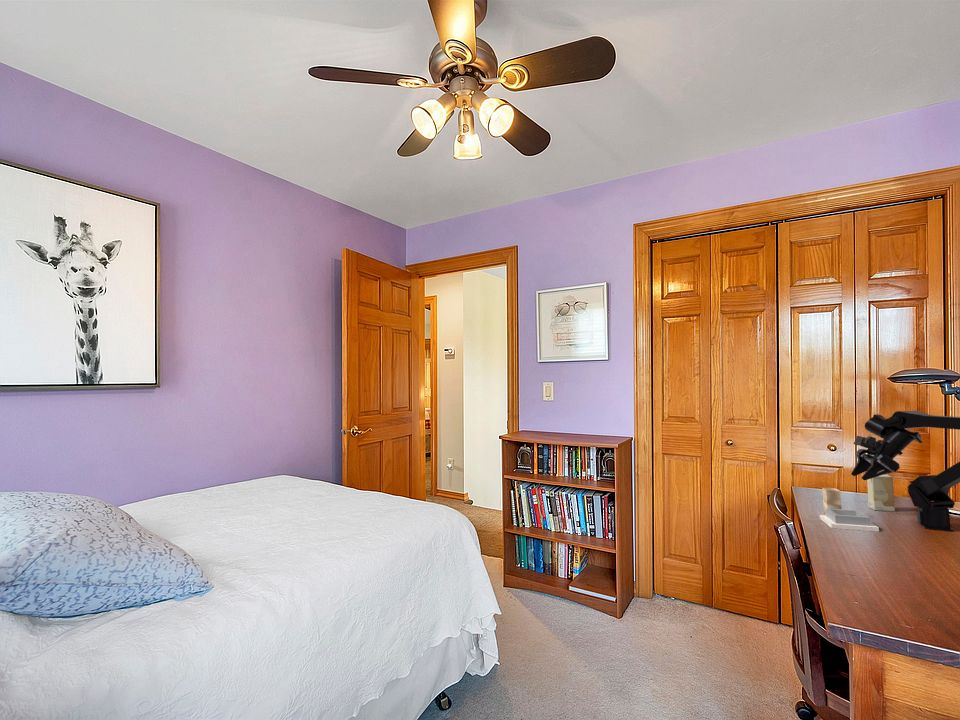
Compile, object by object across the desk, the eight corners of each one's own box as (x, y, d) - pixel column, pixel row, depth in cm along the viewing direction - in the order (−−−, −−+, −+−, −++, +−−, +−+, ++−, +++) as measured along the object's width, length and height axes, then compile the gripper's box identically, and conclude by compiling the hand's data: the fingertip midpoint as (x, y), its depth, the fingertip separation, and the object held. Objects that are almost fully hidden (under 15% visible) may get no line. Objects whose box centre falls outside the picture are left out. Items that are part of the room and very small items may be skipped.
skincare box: (874, 510, 164) (871, 475, 164) (868, 507, 168) (865, 473, 169) (896, 511, 162) (893, 476, 162) (889, 508, 166) (886, 474, 167)
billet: (838, 514, 159) (836, 488, 160) (842, 517, 156) (840, 490, 156) (824, 513, 161) (822, 487, 162) (828, 516, 157) (826, 490, 158)
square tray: (863, 521, 151) (862, 509, 152) (879, 531, 141) (878, 519, 141) (819, 518, 156) (819, 507, 156) (831, 528, 145) (830, 516, 145)
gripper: (859, 426, 165) (826, 457, 168) (882, 429, 148) (844, 463, 151) (889, 447, 162) (855, 479, 164) (916, 453, 144) (877, 488, 147)
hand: (857, 477), depth 157 cm, fingers open, 9 cm apart
